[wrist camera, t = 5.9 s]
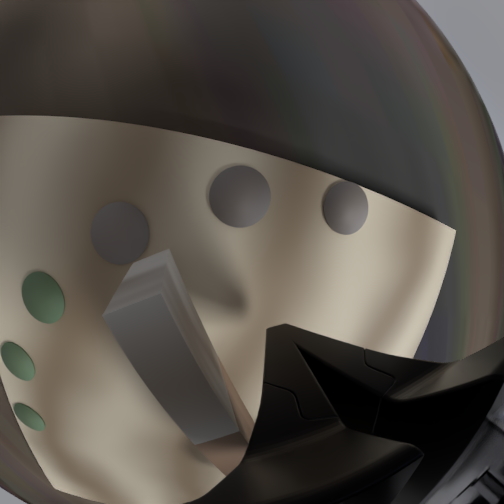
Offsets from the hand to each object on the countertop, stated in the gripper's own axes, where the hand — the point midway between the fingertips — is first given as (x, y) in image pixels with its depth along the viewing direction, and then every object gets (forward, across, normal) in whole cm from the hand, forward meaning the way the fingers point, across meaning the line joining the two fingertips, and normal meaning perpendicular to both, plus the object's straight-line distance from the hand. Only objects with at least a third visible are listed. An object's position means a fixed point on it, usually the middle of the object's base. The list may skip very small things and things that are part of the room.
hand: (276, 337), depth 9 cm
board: (+2, +3, +5) cm, 7 cm away
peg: (+1, +2, +3) cm, 4 cm away
